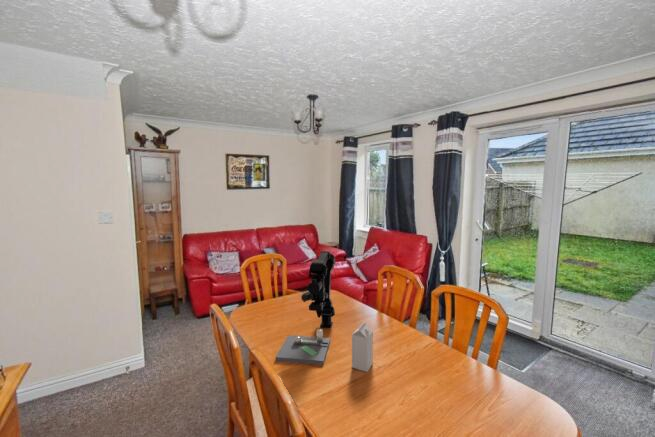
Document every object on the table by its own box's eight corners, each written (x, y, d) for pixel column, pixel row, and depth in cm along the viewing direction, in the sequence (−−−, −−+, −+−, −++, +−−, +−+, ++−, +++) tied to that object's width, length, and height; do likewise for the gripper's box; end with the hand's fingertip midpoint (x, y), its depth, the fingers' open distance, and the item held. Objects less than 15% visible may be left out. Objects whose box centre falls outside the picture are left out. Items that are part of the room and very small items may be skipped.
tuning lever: (292, 344, 145) (292, 330, 145) (295, 340, 149) (294, 326, 149) (327, 346, 143) (327, 332, 142) (328, 342, 147) (328, 328, 146)
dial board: (288, 339, 155) (288, 335, 155) (330, 342, 152) (330, 337, 151) (275, 361, 136) (275, 356, 135) (323, 365, 132) (323, 360, 132)
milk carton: (351, 368, 130) (351, 326, 128) (357, 359, 136) (357, 319, 134) (367, 372, 127) (367, 329, 124) (372, 363, 133) (373, 322, 131)
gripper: (306, 280, 160) (307, 308, 161) (297, 293, 141) (298, 324, 143) (327, 281, 158) (328, 309, 159) (321, 294, 139) (321, 326, 141)
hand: (319, 317), depth 151 cm, fingers closed
